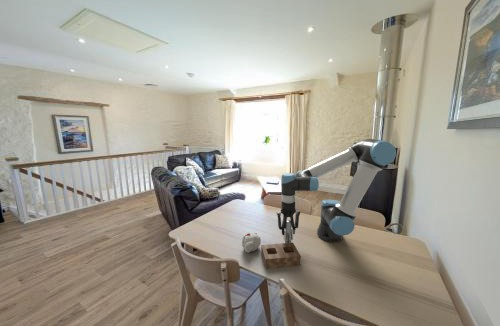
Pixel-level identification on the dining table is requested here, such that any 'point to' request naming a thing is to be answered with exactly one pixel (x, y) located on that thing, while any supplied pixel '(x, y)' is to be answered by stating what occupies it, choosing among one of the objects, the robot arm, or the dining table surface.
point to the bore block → (280, 255)
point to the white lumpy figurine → (251, 242)
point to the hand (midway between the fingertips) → (288, 239)
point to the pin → (288, 231)
